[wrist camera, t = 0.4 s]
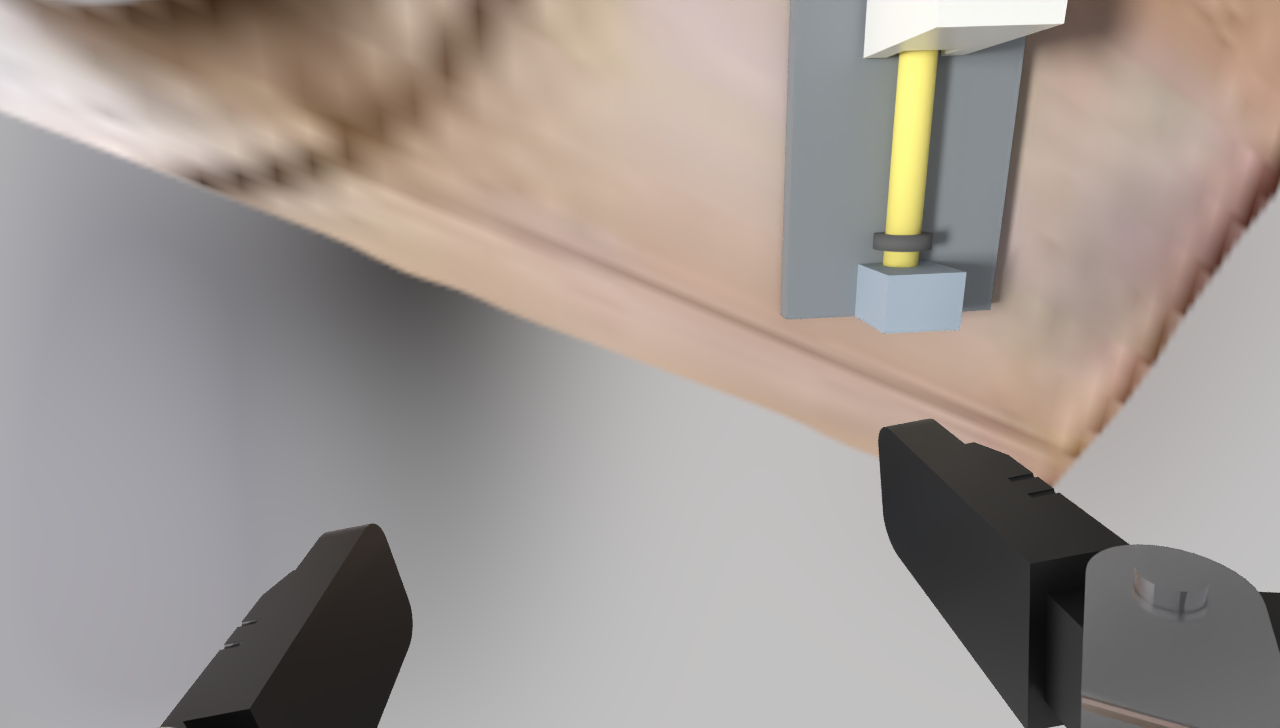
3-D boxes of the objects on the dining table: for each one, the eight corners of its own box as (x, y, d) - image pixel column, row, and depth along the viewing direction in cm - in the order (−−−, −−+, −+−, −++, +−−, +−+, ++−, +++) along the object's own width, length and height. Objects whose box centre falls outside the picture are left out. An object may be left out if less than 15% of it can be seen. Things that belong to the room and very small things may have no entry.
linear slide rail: (794, -126, 31) (830, -182, 26) (1033, -130, 31) (1113, -186, 26) (780, 314, 38) (807, 337, 33) (978, 305, 38) (1035, 326, 33)
